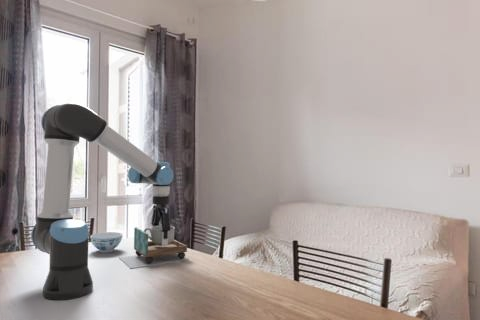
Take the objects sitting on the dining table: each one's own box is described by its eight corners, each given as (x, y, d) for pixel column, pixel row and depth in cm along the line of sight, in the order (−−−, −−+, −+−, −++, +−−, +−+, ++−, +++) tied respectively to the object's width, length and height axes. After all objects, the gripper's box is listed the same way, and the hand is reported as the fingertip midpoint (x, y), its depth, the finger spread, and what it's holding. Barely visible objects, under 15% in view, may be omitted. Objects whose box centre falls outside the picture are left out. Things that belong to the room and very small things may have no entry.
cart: (186, 258, 159) (187, 229, 159) (145, 264, 149) (146, 233, 149) (172, 250, 174) (172, 224, 174) (133, 255, 163) (134, 227, 163)
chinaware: (128, 250, 176) (129, 234, 176) (103, 256, 163) (103, 239, 163) (109, 245, 184) (109, 231, 184) (83, 251, 171) (83, 235, 171)
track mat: (188, 260, 159) (188, 259, 159) (130, 268, 145) (130, 268, 145) (172, 251, 175) (172, 250, 175) (119, 258, 161) (119, 257, 161)
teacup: (177, 242, 167) (177, 225, 167) (170, 247, 156) (170, 229, 156) (148, 241, 168) (149, 224, 168) (140, 246, 157) (140, 228, 157)
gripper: (178, 197, 154) (177, 247, 153) (160, 193, 173) (159, 237, 173) (162, 197, 150) (161, 249, 149) (145, 193, 169) (144, 239, 169)
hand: (160, 243), depth 161 cm, fingers closed on teacup, 11 cm apart
